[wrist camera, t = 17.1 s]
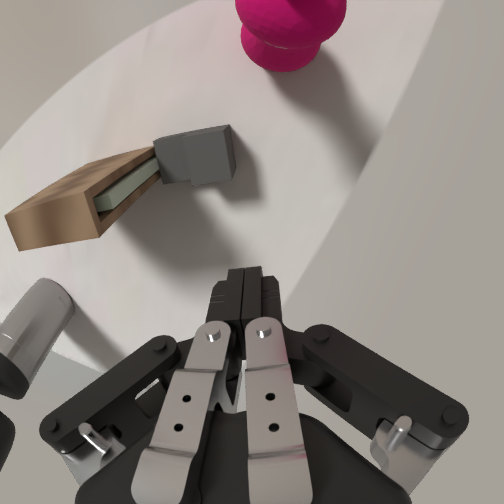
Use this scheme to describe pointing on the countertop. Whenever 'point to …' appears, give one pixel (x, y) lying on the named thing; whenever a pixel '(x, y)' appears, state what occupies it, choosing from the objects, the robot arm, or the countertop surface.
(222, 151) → the block
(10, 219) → the brown upright flat box
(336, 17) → the pepper mill
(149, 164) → the sliding door
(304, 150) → the countertop surface
